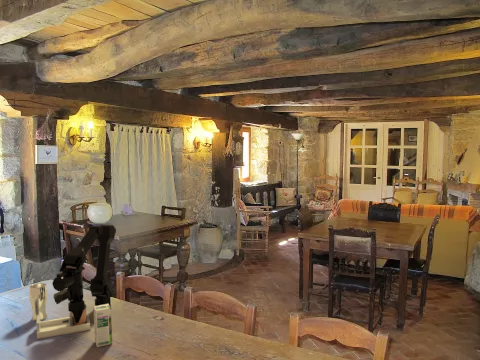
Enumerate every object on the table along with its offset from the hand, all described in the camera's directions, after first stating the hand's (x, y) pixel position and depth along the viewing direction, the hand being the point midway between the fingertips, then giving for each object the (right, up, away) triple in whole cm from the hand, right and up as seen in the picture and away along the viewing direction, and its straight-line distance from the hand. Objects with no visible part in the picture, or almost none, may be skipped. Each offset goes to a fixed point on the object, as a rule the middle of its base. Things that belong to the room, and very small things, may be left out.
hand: (76, 318), depth 175 cm
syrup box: (+16, -5, -14) cm, 22 cm away
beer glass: (-20, -3, +9) cm, 22 cm away
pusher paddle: (-3, -3, -1) cm, 4 cm away
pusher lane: (-5, -4, -2) cm, 6 cm away
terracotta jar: (+1, -3, +1) cm, 3 cm away
